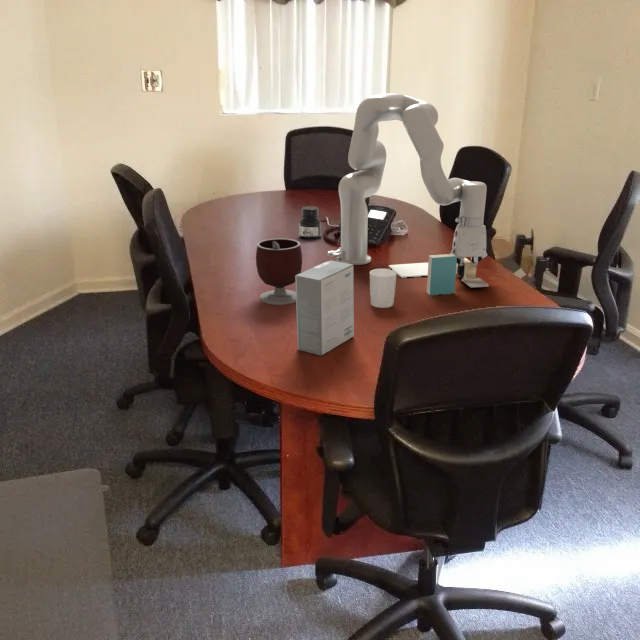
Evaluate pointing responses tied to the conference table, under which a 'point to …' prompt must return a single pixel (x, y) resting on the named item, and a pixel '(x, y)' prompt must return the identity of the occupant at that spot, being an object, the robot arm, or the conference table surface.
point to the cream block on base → (471, 275)
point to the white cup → (382, 287)
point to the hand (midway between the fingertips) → (466, 275)
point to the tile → (441, 274)
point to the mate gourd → (278, 268)
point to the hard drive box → (325, 306)
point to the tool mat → (410, 269)
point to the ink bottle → (310, 223)
